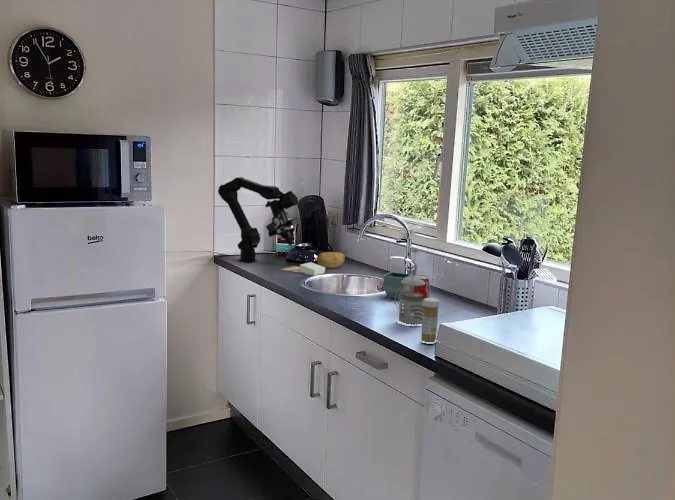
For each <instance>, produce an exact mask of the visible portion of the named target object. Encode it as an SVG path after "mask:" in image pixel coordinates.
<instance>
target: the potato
mask: <svg viewBox="0 0 675 500" xmlns="http://www.w3.org/2000/svg"><path fill="white" fill-rule="evenodd" d="M345 257H346V255H345V254H344V253H342V252H340V251H326V252H320V253H319V254H318V255H317V257H316V262H317V265H320V266H322V267H325V269H327V270H329V269H337V268H339V267H341V265H343V264H344V262H345V260H346V258H345Z"/></svg>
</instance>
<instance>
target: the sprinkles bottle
mask: <svg viewBox="0 0 675 500" xmlns="http://www.w3.org/2000/svg"><path fill="white" fill-rule="evenodd" d="M423 305H424V306H423V307H424V308H423V314H422V315H423V318H422V326H421V339H420V341H421V340H422V341H425V342H434V341H435V339H437V329H438V317H439V316H438V312H439V305H440V300H439V299H438V298H435V297H429V298H425V299H424V300H423Z"/></svg>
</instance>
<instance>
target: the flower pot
mask: <svg viewBox="0 0 675 500" xmlns="http://www.w3.org/2000/svg"><path fill="white" fill-rule="evenodd" d="M382 276H383V277H382V278H383V288H384V292H385V294H386V296H387V298H389V299H394V300H395V295H396V300H398V298H399V300H400V298H401V297H403V296H402V294H400V293H403V291H405V289H404V288H406V292H410V286H407V285H403V284H402V283H401V281H402V280H404V279H405V278H410V277H413V274H409V273H403V272H395V271H394V272H393V271H390V272H388V273H385V274H384V275H382ZM401 287H402V288H403V289H404V290H403V291H402V288H401ZM399 288H400V289H399ZM398 289H399V291H398ZM397 291H398V292H397ZM401 291H402V292H401ZM396 293H397V294H396ZM399 294H400V297H399Z"/></svg>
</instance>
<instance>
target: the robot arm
mask: <svg viewBox="0 0 675 500" xmlns="http://www.w3.org/2000/svg"><path fill="white" fill-rule="evenodd" d="M241 188H242V189H245V190H248V191H252V193H253V192H254V193H257V194H258V195H260V196H261V197H262V199H263V198H264V199H265V200H267V201H266V203H265V206H264V207H265V208H269V207H270V211H271V213H272V216H273V217H271V222H270V223H268V224H267V225H266V226H265V228H266V229H267V230H268V233H267V235H268V236H269V238H272V237H273V236H274V237H275V236H281V237H282V238H283V239H284V240H285V242H286V243H287V244H288V245H289V246H292V245H293V241H294V240H293V239H294V230H295V228H296V227H295V226H294V225H300V224H302V220H301V218H300V217H294V218H290V219H289V218H288V215H289V212H286V210H288V209H291V208H292V207H295V206H296V205H298V204H299V199H298V197H297V195H296V194H295V193H293V190H289V191H287V192H286V193H284V192H282V191H281V190H280V189H279V187H277V186H274V185H267V184H266V185H264V184H261V183H258V182H255V181H252V180H250V179H246V178H244V177H242V176H240V177H235V178H234V179H233V178H232V180H230V181H228V182H226V183H224V184H221V185H220V186H219V187H218V190H217V193H218V195H219V196H220V199H222V201H224V202H225V203H227V204H228V207H229V209H230V211H231V213H232V215H233V218H234V219H235V221H236V224H237V225H238V227H239V230H240V238H241V240H240V241H239V242H238V244H237V248H238V249H239V250H240V253H239V254H240V259H237V261H238V262H241V263H247V264H251V263H254V262H258V260H257V259H256V248H258V245H259V244H260V242H261V234H260V233H259V230H258V228H257V227H252V226H251V225H250V222H249V220H248V218H247V216H246V214H245V212H244V210H243V208H242V206H241V204H240V202H239V199H238V198H239V197H238V195H239V194H238V191H239V190H241ZM267 230H266V231H267Z"/></svg>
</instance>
